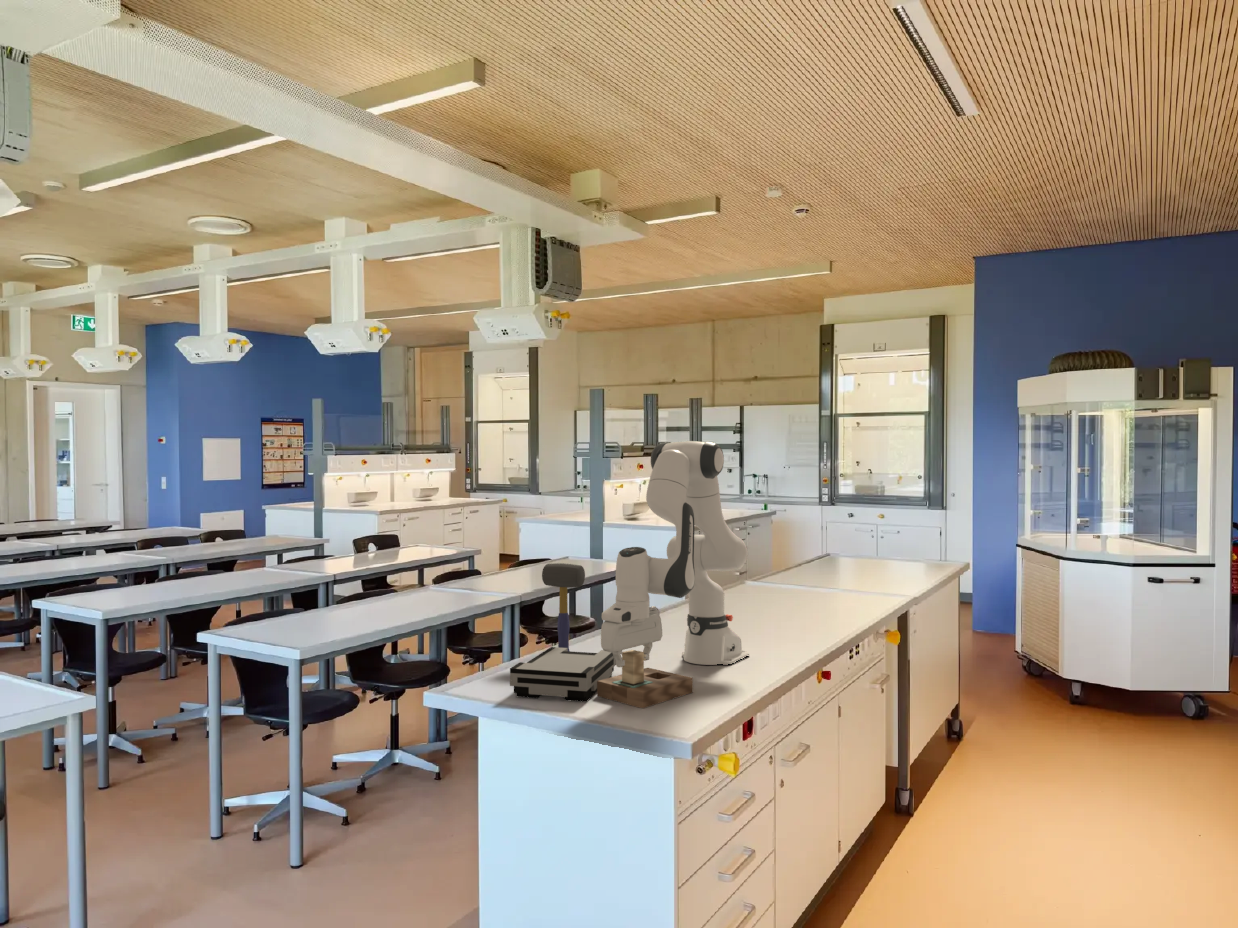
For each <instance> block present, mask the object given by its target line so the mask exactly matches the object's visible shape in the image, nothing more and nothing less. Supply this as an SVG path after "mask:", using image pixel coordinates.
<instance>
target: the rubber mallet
mask: <svg viewBox="0 0 1238 928" xmlns="http://www.w3.org/2000/svg"><path fill="white" fill-rule="evenodd" d="M585 578H586V572H585V569H584V566H582V565H581V564H580V565H579V564H573V563H559V562H558V563H547V564H545V565H544V566H543V568H542V571H541V579H542V582H543V584H544V585H546V586H548V587H555V588H559V607H558V609H559V613H558V615H557V617H558V618H557V625H556V627H557V636H558V637H557V638H558V642H557V643H558V644H557V645H558V646H557V647H559V648H568V651H570V647H569V646H570V645H569V638H570V637H569V635H570V630H571V629H570V615H569V612H568V609H569V608H568V603H569V602H568V588H580V587H581V588H582V586H583V585H584V583H585Z"/></svg>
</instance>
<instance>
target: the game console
mask: <svg viewBox="0 0 1238 928" xmlns="http://www.w3.org/2000/svg"><path fill="white" fill-rule="evenodd" d="M615 666H616V659H615V657H614V656H613V652H607V651H604V650H603V649H601V650H600V651H598V652H587V651H586V652H585V651H584V652H582V651H570V650H569V651H568V648H559V647H558V646H556V647H555V646H554V647H553V646H551V647H549V648H547V649H545V650H544V651H543V652H541V653H539V654H538V655H536V656H535V657H533V658H531V659H530V660H529V661H527V662H518V663H516V664H515V665H513V666H511V667H510V668H509V686H510V687H513V693H514V694H516V696H518V698H528V697H529V698H530V699H531V698H532V699H539V698H540V697H542V696H551V697H561V698H562V697H563V701H568V700H571V702H581V701H582V703H587V702H588V701H589V700H590V699H591V698H592V697H593V696H594V695H595V694H597V681H599V680H603V679H606V678H610V677H613V676H612V675H613V673H614V671H615ZM541 695H542V696H541ZM589 698H590V699H589ZM588 699H589V700H588ZM587 700H588V701H587Z"/></svg>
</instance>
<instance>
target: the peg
mask: <svg viewBox="0 0 1238 928" xmlns="http://www.w3.org/2000/svg"><path fill="white" fill-rule="evenodd" d="M621 657H622V659H623V660H625V666H624V667H621V675H622V683H623V684H627V685H631V686H635V685H638V684H642V683H644V668H645V666H644V665H645V661H644V652H643V651H641V650H636V649H629V650H625V651H622V654H621Z"/></svg>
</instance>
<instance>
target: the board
mask: <svg viewBox="0 0 1238 928" xmlns="http://www.w3.org/2000/svg"><path fill="white" fill-rule="evenodd" d="M693 682H694V679H693V677H691V676H687V675H684V674H678V673H673V672H669V671H666V670H665V671H664V670H660V669H656V668H650V667H644V683H642V684H638V685H635V686H631V685H627V684H623V683H622V674H617V675H614V676H612V677H610V678H606V679H603V680H599V681H597V692H596V694H597V695H596V696H597V697H599V698H603V699H607V700H609V701H613V702H617V703H622V704H624V705H629V706H632V707H636V708H639V709H645V708H648V707H651V706H654V705H658V704H660V703H664V702H668V701H670V700H674V699H677V698H680V697H683V695H684V696H687V695H689V694H692V693H694V692H693V691H694V690H693V689H694V688H693V687H694V686H693ZM686 694H687V695H686ZM673 698H674V699H673Z"/></svg>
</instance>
